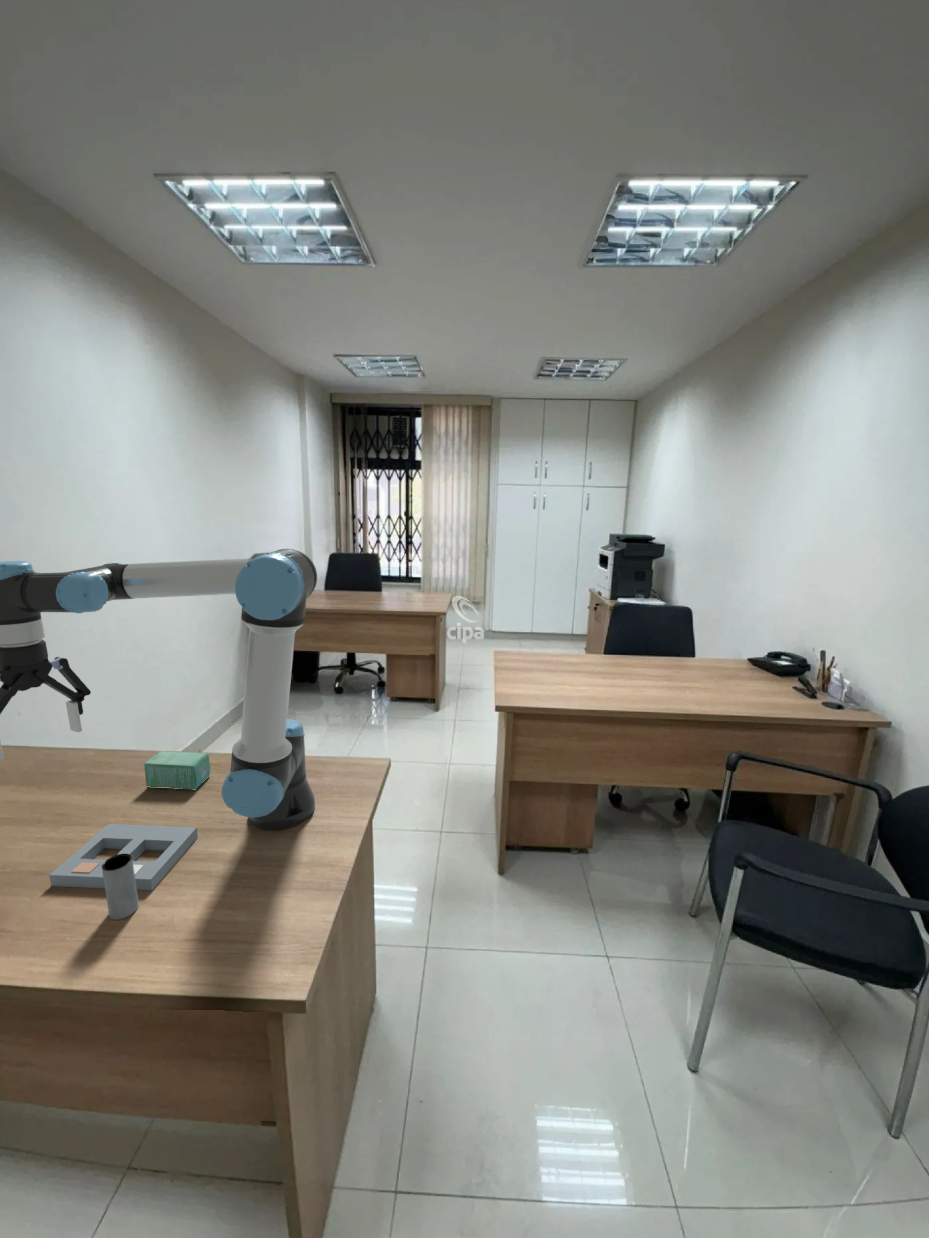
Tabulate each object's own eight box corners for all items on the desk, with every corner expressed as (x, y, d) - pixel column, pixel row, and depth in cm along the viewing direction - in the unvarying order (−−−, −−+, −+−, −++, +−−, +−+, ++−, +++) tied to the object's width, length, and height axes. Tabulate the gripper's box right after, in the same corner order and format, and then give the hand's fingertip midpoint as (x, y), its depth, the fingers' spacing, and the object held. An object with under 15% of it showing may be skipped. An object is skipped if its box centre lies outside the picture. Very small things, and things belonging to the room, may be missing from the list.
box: (197, 791, 131) (194, 764, 129) (146, 789, 131) (142, 763, 130) (211, 776, 138) (209, 751, 137) (163, 775, 138) (160, 750, 137)
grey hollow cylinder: (118, 901, 94) (111, 853, 92) (143, 900, 95) (137, 852, 93) (103, 920, 90) (95, 871, 88) (130, 919, 90) (123, 870, 88)
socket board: (197, 837, 113) (196, 826, 112) (152, 890, 97) (150, 878, 97) (110, 833, 113) (108, 823, 113) (51, 886, 98) (49, 873, 97)
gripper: (78, 626, 110) (93, 717, 114) (-79, 656, 87) (-52, 768, 92) (100, 630, 107) (114, 723, 111) (-57, 662, 84) (-31, 777, 89)
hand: (39, 744), depth 102 cm, fingers open, 13 cm apart
